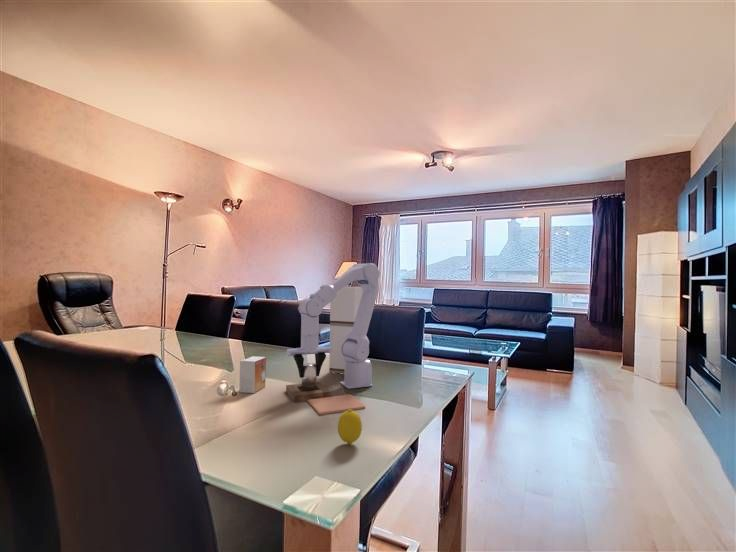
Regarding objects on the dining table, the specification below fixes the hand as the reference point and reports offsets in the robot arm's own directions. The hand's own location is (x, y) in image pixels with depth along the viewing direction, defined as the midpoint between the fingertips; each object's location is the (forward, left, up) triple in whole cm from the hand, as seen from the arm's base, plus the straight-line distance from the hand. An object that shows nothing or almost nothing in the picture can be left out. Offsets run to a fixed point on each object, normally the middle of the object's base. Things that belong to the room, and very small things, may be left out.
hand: (309, 376), depth 119 cm
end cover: (0, 0, -3) cm, 3 cm away
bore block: (0, 0, -6) cm, 6 cm away
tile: (-5, +13, -6) cm, 15 cm away
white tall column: (-23, -24, -6) cm, 34 cm away
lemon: (+1, +39, -6) cm, 39 cm away
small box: (+16, -12, -6) cm, 21 cm away
